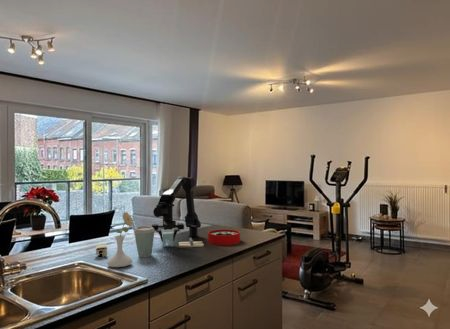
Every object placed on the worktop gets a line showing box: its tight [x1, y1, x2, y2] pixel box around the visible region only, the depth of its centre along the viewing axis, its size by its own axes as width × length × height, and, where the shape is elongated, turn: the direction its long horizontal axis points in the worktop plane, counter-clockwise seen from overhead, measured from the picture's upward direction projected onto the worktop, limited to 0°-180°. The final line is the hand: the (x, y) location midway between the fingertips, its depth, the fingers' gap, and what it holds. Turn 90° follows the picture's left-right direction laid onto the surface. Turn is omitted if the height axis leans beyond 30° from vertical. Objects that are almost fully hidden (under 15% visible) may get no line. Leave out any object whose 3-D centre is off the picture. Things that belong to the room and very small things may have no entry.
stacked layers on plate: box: [95, 243, 109, 258], centre depth 177 cm, size 10×9×6 cm
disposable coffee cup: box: [133, 225, 156, 258], centre depth 176 cm, size 11×11×15 cm
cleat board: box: [178, 237, 205, 249], centre depth 201 cm, size 10×14×4 cm
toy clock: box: [207, 229, 241, 246], centre depth 210 cm, size 20×6×20 cm
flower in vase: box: [106, 211, 135, 268], centre depth 159 cm, size 13×11×25 cm
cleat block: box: [162, 231, 174, 248], centre depth 198 cm, size 7×6×7 cm
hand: (167, 241), depth 198 cm, fingers closed on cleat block, 6 cm apart
